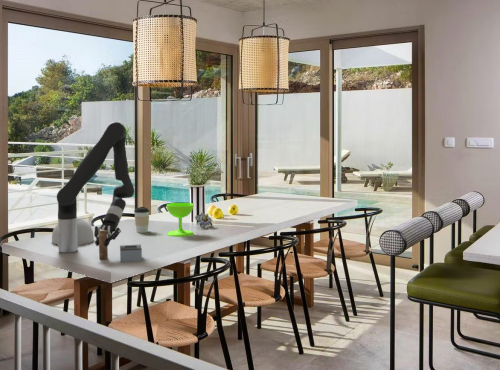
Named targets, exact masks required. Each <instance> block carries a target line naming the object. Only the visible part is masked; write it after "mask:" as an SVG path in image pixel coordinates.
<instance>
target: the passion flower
mask: <svg viewBox="0 0 500 370" xmlns="http://www.w3.org/2000/svg"><path fill="white" fill-rule="evenodd" d="M194 218H195V220H196V221H197V222H196V225H199V226H200V228H204V229H205V230H206V229H207V228H208V227H213V222H214V220H213V219H212V216H210V215H209V213H206V214H205V213H204V212H202V211H201V212H200V214H198V215H195V216H194Z"/></svg>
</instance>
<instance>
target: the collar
mask: <svg viewBox="0 0 500 370" xmlns="http://www.w3.org/2000/svg"><path fill="white" fill-rule="evenodd" d="M119 253H120V254H119V257H120V260H119V261H120V262H121V263H129V262H142V261H143V254H142V253H143V250H142V245H141V244H123V245H121V244H120V245H119Z"/></svg>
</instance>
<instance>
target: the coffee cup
mask: <svg viewBox="0 0 500 370" xmlns="http://www.w3.org/2000/svg"><path fill="white" fill-rule="evenodd" d="M133 213H134V222H135V231H136V233H139V234H145V233H148V232H149V221H150V210H149V209H148V207H145V206H140V207H136V208H135V209H134V212H133Z"/></svg>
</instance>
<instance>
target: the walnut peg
mask: <svg viewBox="0 0 500 370" xmlns="http://www.w3.org/2000/svg"><path fill="white" fill-rule="evenodd" d="M107 236H108V234H107V230H101V229H100V230H99V246H98V248H99V249H98V253H99V254H98V255H99V257H98V259H99V260H103V261H104V260H108V259H109V257H108V256H109V249H108V246H107V247H105V245H104V243H105V241H106V238H107Z"/></svg>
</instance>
